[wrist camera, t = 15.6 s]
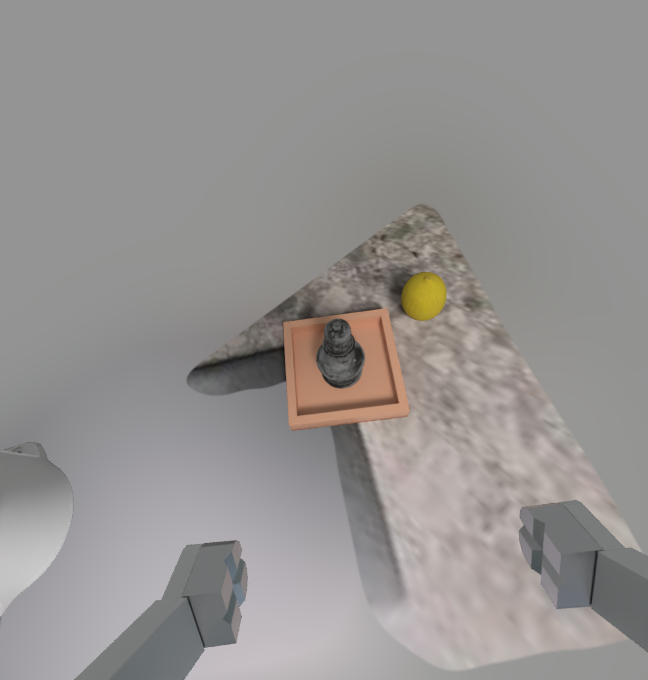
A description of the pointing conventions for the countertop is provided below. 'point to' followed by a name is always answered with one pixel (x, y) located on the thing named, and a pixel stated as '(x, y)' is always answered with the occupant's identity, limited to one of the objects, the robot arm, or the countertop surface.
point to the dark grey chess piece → (340, 355)
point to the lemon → (423, 296)
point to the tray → (353, 402)
